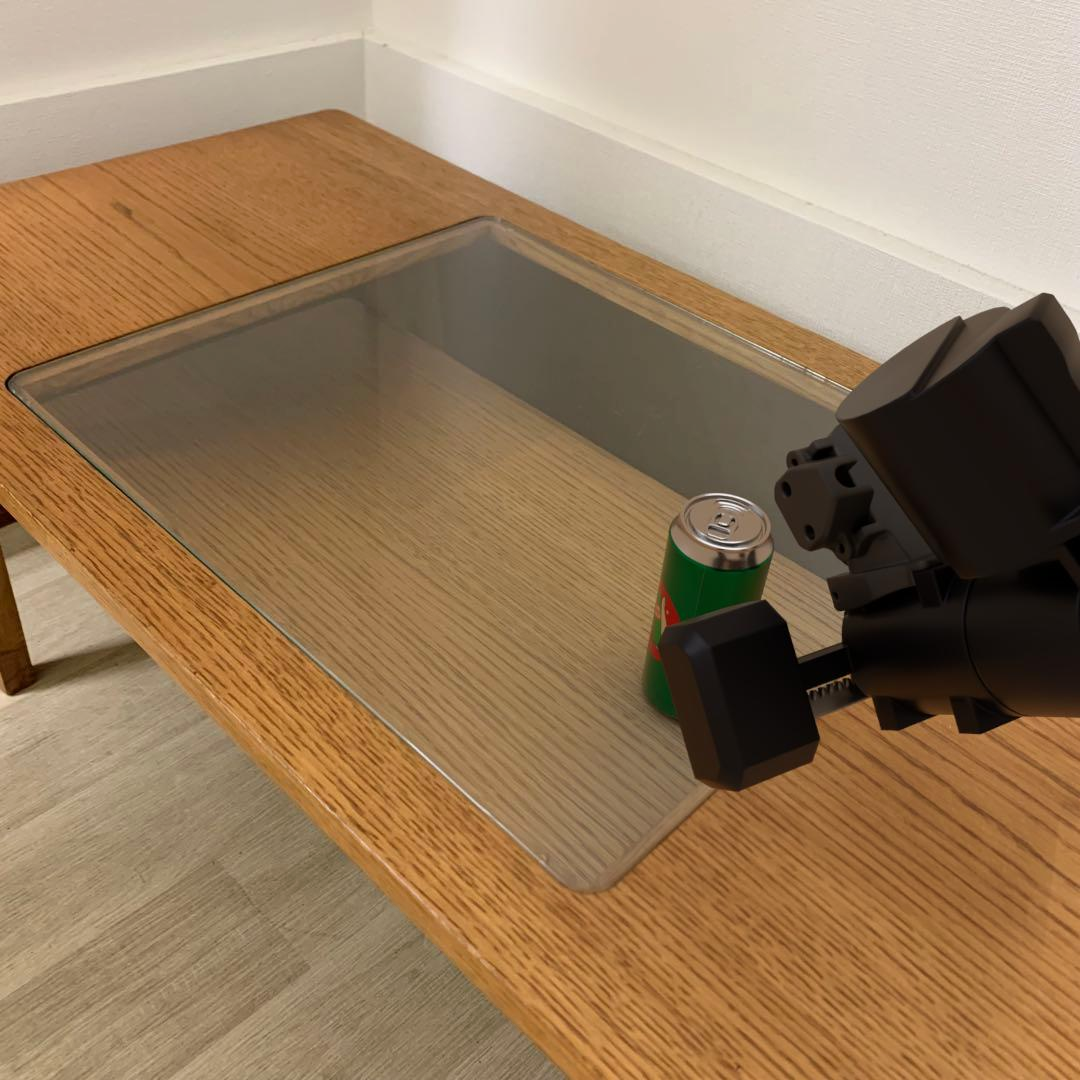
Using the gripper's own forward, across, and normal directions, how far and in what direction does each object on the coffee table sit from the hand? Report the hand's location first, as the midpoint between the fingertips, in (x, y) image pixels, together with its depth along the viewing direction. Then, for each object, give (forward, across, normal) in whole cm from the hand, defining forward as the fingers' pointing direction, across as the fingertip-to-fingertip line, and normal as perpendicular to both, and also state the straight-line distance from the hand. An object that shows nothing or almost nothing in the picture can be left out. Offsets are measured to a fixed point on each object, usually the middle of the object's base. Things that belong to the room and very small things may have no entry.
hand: (770, 648), depth 52 cm
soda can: (+10, 0, +2) cm, 10 cm away
